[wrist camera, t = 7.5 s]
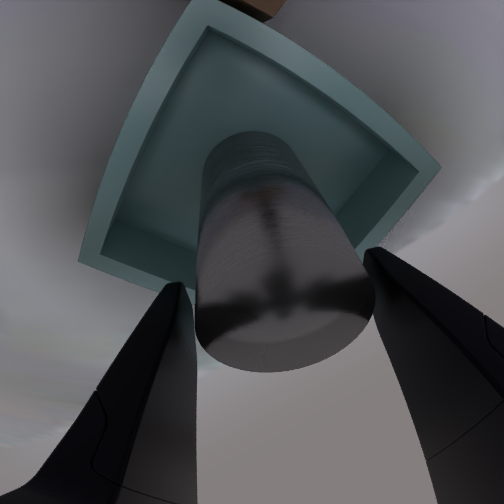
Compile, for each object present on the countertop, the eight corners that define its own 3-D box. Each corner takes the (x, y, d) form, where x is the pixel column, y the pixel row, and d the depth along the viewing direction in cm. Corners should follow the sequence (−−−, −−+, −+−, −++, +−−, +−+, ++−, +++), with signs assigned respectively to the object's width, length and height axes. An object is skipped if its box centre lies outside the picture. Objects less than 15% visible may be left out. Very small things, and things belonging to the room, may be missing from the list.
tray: (202, 6, 9) (197, -9, 6) (401, 138, 13) (441, 167, 10) (99, 217, 14) (77, 261, 11) (279, 288, 18) (291, 334, 15)
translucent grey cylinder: (234, 112, 11) (261, 215, 5) (318, 161, 12) (407, 290, 6) (185, 196, 13) (167, 350, 7) (266, 232, 14) (302, 381, 8)
